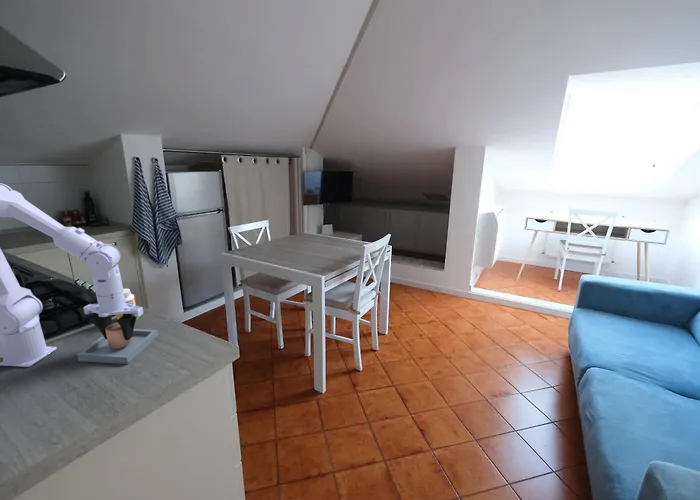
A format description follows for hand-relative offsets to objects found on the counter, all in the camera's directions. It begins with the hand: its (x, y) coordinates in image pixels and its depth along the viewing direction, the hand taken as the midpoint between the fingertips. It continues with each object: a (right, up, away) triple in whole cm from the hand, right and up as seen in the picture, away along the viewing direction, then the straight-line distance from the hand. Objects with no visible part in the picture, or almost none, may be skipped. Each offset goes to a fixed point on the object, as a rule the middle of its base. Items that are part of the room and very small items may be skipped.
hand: (119, 337), depth 89 cm
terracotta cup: (0, -2, 0) cm, 2 cm away
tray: (0, -3, +1) cm, 3 cm away
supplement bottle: (-8, +1, +15) cm, 16 cm away
